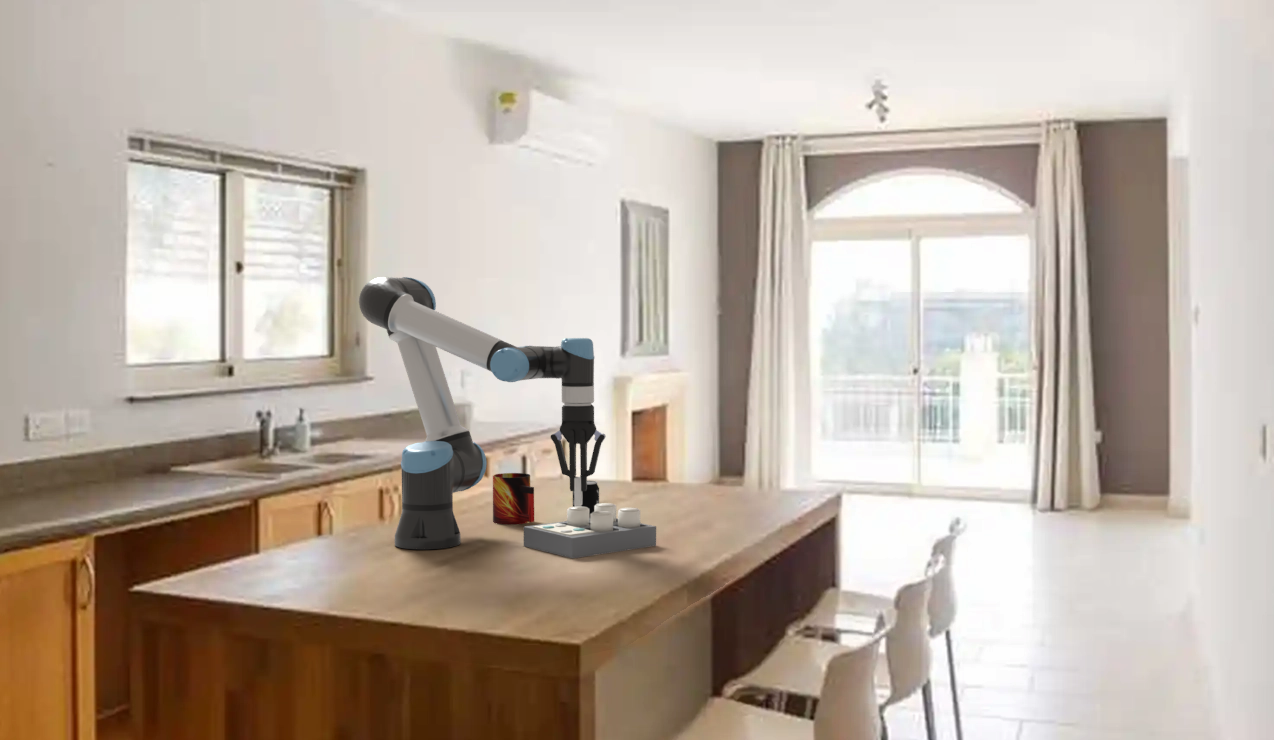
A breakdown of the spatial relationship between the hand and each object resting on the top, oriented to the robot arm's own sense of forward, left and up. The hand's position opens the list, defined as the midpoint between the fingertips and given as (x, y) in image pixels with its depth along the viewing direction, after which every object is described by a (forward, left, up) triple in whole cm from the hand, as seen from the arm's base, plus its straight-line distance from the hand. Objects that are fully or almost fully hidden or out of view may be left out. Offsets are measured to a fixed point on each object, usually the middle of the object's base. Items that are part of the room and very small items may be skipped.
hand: (578, 505), depth 297 cm
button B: (+8, 0, -6) cm, 10 cm away
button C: (0, -9, -6) cm, 11 cm away
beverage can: (+12, +13, -9) cm, 20 cm away
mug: (+6, +34, -9) cm, 36 cm away
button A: (0, 0, -6) cm, 6 cm away
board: (0, -4, -9) cm, 10 cm away
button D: (+8, -9, -6) cm, 13 cm away
